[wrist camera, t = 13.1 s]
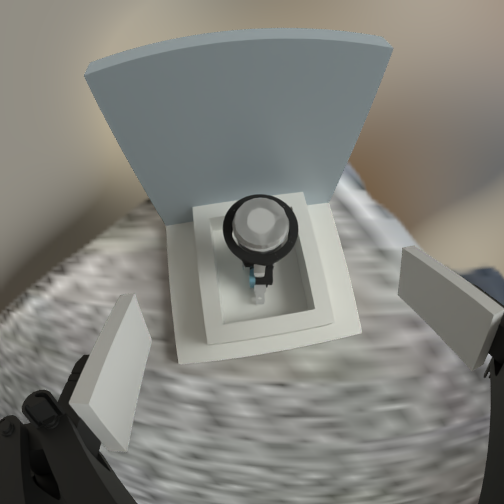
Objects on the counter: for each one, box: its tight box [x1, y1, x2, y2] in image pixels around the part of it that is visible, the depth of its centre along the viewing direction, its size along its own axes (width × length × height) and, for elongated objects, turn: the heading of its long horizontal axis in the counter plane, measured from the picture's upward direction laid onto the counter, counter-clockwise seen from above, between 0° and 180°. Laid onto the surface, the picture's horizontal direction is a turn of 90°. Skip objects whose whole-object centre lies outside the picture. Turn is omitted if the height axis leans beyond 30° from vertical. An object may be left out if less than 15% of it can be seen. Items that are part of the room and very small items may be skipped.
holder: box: [84, 28, 393, 365], centre depth 20 cm, size 18×16×22 cm
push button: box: [223, 194, 299, 304], centre depth 24 cm, size 7×5×10 cm
